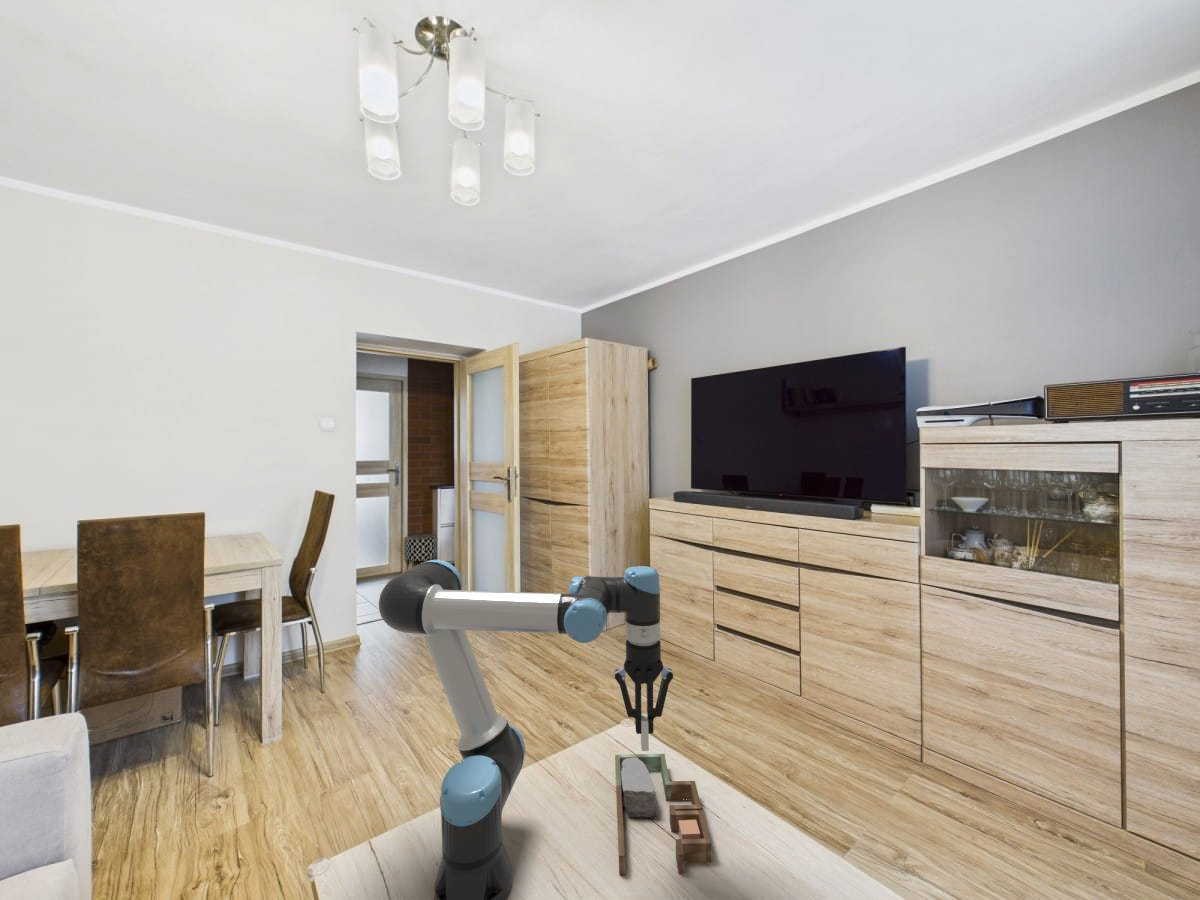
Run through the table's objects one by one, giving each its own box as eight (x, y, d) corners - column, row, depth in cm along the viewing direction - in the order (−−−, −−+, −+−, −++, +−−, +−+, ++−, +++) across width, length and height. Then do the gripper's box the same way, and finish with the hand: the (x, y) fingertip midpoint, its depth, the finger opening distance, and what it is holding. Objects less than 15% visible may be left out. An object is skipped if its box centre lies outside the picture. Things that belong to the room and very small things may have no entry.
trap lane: (619, 874, 104) (618, 855, 104) (615, 769, 137) (615, 754, 137) (714, 873, 103) (714, 854, 103) (687, 767, 137) (687, 753, 137)
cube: (682, 852, 109) (681, 834, 109) (678, 837, 113) (678, 820, 113) (700, 851, 109) (700, 833, 109) (696, 837, 113) (696, 819, 113)
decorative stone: (633, 830, 116) (670, 814, 120) (631, 800, 116) (668, 785, 120) (605, 791, 129) (639, 777, 133) (603, 764, 129) (637, 752, 133)
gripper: (613, 647, 106) (615, 758, 106) (675, 646, 105) (677, 757, 106) (612, 633, 113) (614, 737, 114) (670, 632, 113) (672, 736, 113)
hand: (644, 747), depth 110 cm, fingers closed
